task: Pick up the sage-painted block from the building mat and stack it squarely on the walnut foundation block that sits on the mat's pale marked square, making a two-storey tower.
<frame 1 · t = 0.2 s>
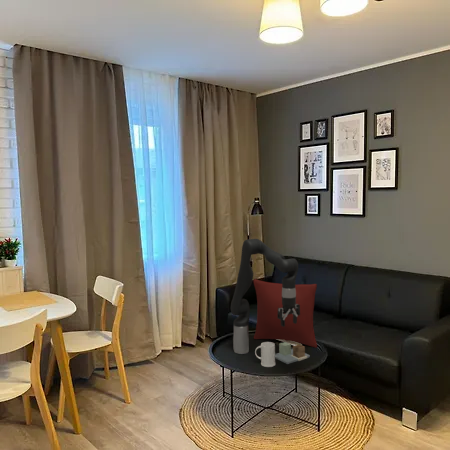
hand: (288, 324, 237), 29 cm above the table, fingers open, 8 cm apart
pillow: (284, 343, 289), on the table
sage block: (285, 353, 268), point 1 cm above the table, touching building mat
mug: (265, 364, 256), on the table
building mat: (290, 356, 266), on the table
walnut block: (298, 355, 264), point 1 cm above the table, touching building mat
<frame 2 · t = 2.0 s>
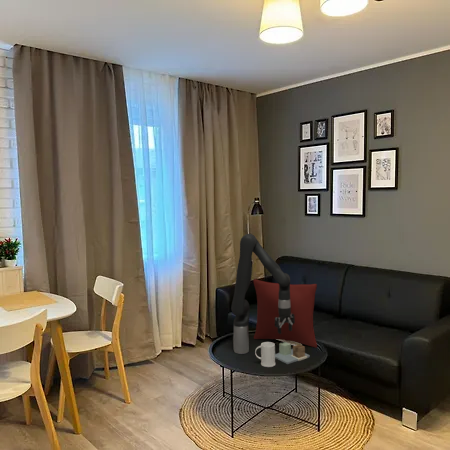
hand: (284, 332, 267), 15 cm above the table, fingers open, 8 cm apart
nothing on the table moved.
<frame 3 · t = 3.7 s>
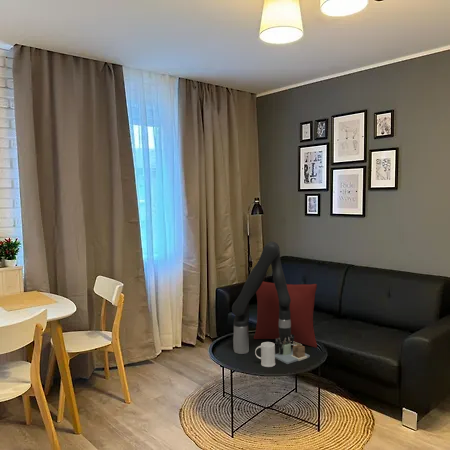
hand: (285, 352, 268), 2 cm above the table, fingers closed on sage block, 5 cm apart
sage block: (285, 353, 268), point 1 cm above the table, touching building mat, gripper
everything else where it was.
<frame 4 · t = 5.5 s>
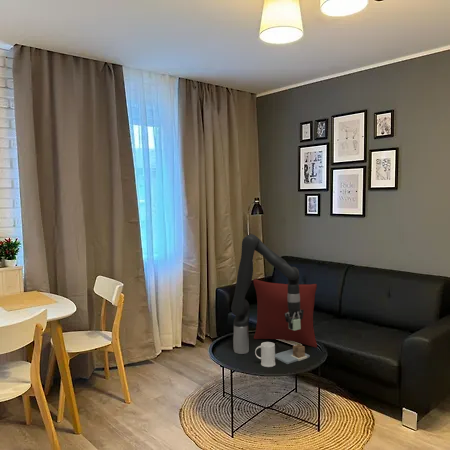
hand: (294, 327, 264), 18 cm above the table, fingers closed on sage block, 5 cm apart
sage block: (294, 328, 264), point 18 cm above the table, touching gripper
everything else where it was.
when the fingers open (8 cm above the table, at t = 7.5 s): sage block stays where it is, resting on walnut block.
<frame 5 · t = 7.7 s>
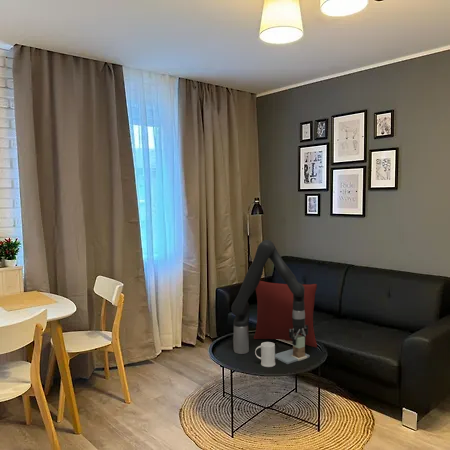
hand: (298, 343, 263), 9 cm above the table, fingers open, 7 cm apart
sage block: (298, 346, 263), point 7 cm above the table, touching walnut block
walnut block: (298, 355, 264), point 1 cm above the table, touching building mat, sage block
everything else where it was.
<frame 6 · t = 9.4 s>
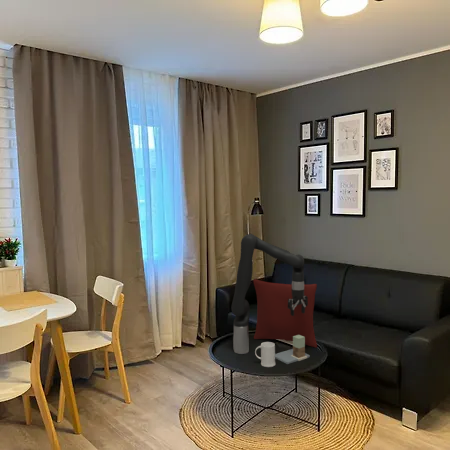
hand: (297, 314, 264), 26 cm above the table, fingers open, 8 cm apart
nothing on the table moved.
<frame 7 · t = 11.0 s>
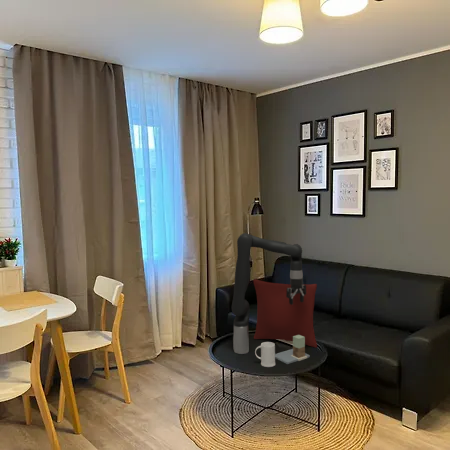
hand: (296, 303, 267), 32 cm above the table, fingers open, 8 cm apart
nothing on the table moved.
at the end: sage block 0.0 cm off-centre on the walnut block, point 6.0 cm above the walnut block's base; sage block tilted 0°; walnut block moved 0.0 cm from its start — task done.
